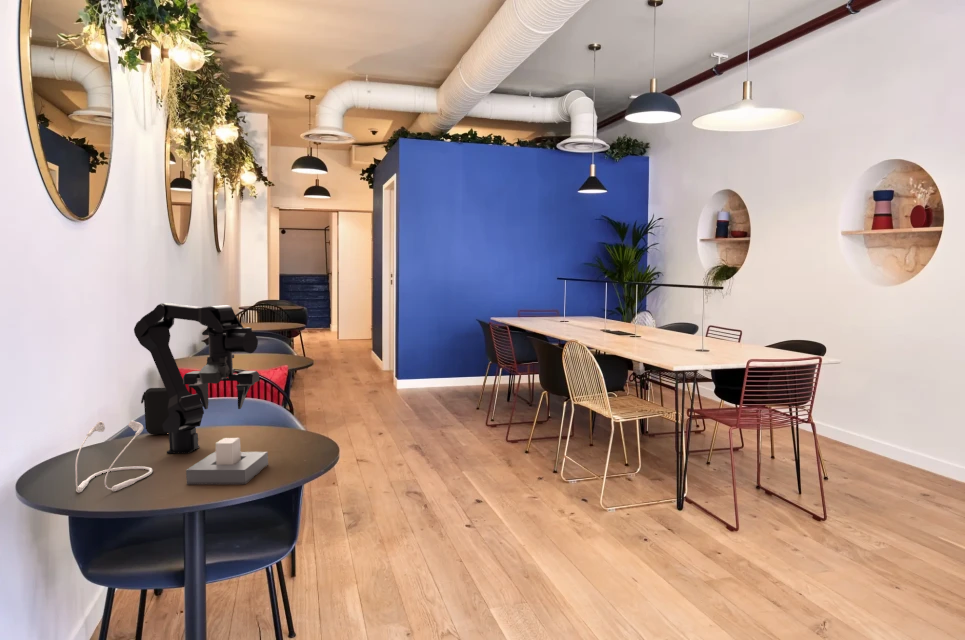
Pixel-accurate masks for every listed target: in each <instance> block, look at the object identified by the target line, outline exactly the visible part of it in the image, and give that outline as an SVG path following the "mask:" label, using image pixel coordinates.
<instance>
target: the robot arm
mask: <svg viewBox="0 0 965 640" xmlns="http://www.w3.org/2000/svg"><path fill="white" fill-rule="evenodd" d="M175 319H177V320H184V321H185V320H186V321H195V322H198V323H199V324H200V325H202V326H203V327H204V326H205V327H206V329H204V330H203V332H201V334H202V336H208V350H209V351H208V354H209V355H208V356H207V357H206V358H207V359H206V365H204V366H203V367H202V368H201V369H200V370H193V371H189V372H187V373H185V374H184V375H183V376H182V373H181V372H180V369H179V367H178V365H177V361H176V360H175V357H174V354H173V353H172V350H171V348H170V340H171V332H170V330H171V329H172V327H173V326H174V325H175ZM133 333H134V336H135V337H136V340H138V343H139V344H140V345H141V346H142V347H143V348H145V349H146V350H147V351H148V352H149V353H150V355H151V358H152V359H153V362H154V365H155V367H156V370H157V371H158V374H159V375H160V378H161V381H162V383H163V386H164V387H165V388H166V391H167V393H168V395H169V404H168V412H169V417H168V418H167V419H166V420H165V422H164V423H163V424H162V426H163V430H164V432H169V434H168V441H169V442H168V443H169V450H167V451H166V454H190V453H192V452H194V451H196V450H197V449H199V448H200V445H199V433H198V432H197V428H198V427H201V423H202V420H203V417H204V414H205V411H204V410H208V409H209V384H215V385H216V384H218V383H220V382H222V381H223V382H230V381H231V382H237V383H238V384H236V386H235V387H236V389H237V409H238V410H241V409H242V407H243V405H244V402H245V400H246V399H245V398H246V397H247V394H248V392H249V390H250V388H251V387H252V386H253V385H256V384H255V383H257V382H260V374H259V372H258V371H257V370H243V371H241V372H238V373H236V371H235V370H236V369H235V368H233V359H234V358H235V354H254V352H256V350H257V348H258V346H259V345H258V344H259V340H258V338H257V335H256V334H255V333H254V332H253V329H252V327H244V326H243V324H242V323H241V321H240V320H239V318H238V316H237V315H236V314H235V312H234V309H233V307H232V306H231V305H229V304H224V305H222V304H221V305H212V306H211V305H210V306H197V305H187V304H180V303H179V304H178V303H174V302H165V303H164V302H163V303H162V302H161V303H159V304H157V305H156V307H155V308H153V310H151V311H150V312H148V313H147V314H145V315H144V316H142V317H141V318H140V320H138V321H137V322H136V323H135V326H134V328H133ZM186 385H188V388H192V389H193V390H194V391H195V392H196V393H195V394H192V393H191V392H190V391H189V390H188V388H187V386H186ZM198 447H199V448H198ZM195 449H196V450H195ZM193 450H194V451H193Z"/></svg>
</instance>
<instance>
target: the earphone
mask: <svg viewBox="0 0 965 640" xmlns="http://www.w3.org/2000/svg"><path fill="white" fill-rule="evenodd" d="M128 427H129V428H131V429H132V430H133V431H134V433H135V434H134V436H133V438H131V440H130V441H129V442H128V443H127V445H125V447H124V448H123V449H122V450H121V451H120V453H119V454H118V455H117V456H116V458H115V459H114V461H113V462H112V463H111V465H109V468H108V469H104V470H100V471H97V472H95V473H93V474H92V475H90V476H88V477H87V478H86V479H85V480H82V482H81V483H80V484H79V485H78V461H79V456H80V452H81V451H82V448H83V446H84V444H85V443H86V441H87V439H88V438H89V437H92V435H93V434H94V432H99V433H102V432H105V430H106V427H105V423H104V422H103V421H101V420H100V421H98V422H96V424H95V426H93V427H92V428H91V429H90V430H89V431H88V433H86V437H85V438H84V440H83V442H82V443H81V445H80V447H79V449H78V452H77V455H76V457H75V466H74V467H75V468H74V469H75V487H76V489H75V491H76V493H82V492H83V491H84V489H85V488H86V487H87V486H88V485H89V482H90V481H91V480H92V479H94V478H95V476H96V477H98V476H100V475H102V473H103V474H105V477H104V486H105V488H106V489H107V490H111V491H112V492H116V491H120V490H121V489H122V490H123V489H124V488H126V487H129V486H131V485H133V484H135V483H136V482H138V481H140V480H143V479H144V478H145V479H146V478H147V477H148V476H151V474H152V473H154V472H153V471H154V470H153V468H152V467H150V466H142V465H141V466H140V465H139V466H138V465H137V466H134V465H133V466H122V467H121V466H119V467H113V466H114V464H115V463H116V462H117V460H118V459H119V458H120V457H121V455H122V454H123V453H124V451H125V450H126V449H127V448H128V447H129V445H130V444H132V442H133V441H135V439H136V438H137V436H139V435H140V434H141V433H142V432H143V431H144V425H143V424H142V423H140V422H138V421H135V420H130V421H129V423H128ZM112 467H113V468H112ZM144 469H145V470H146V471H147V472H146V473H145V474H142V475H141V476H137V477H136V478H130V479H127V480H125V481H123V482H120V483H118V484H115V485H113V486H112V487H111V488H110V487H108V485H107V478H108V475H109V473H111V472H116V471H125V470H144ZM110 471H111V472H110ZM106 472H107V473H106Z"/></svg>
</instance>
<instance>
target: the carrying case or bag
mask: <svg viewBox="0 0 965 640" xmlns="http://www.w3.org/2000/svg"><path fill="white" fill-rule="evenodd" d="M140 403H141V404H143V405H144V424H145V427H144V428H145V430H146V433H148V434H149V435H151V434H167V433H169V432H164V430H163V426H162V424H163V423H164V422H165V420H166V419H167V418H168V417H169V412H168V404H169V395H168V393H167V391H166V388H165V386H164V387H149V388H147V389H146V390H145V391H144V392H143V394H142V396H141V400H140ZM167 435H168V434H167Z"/></svg>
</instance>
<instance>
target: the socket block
mask: <svg viewBox="0 0 965 640" xmlns="http://www.w3.org/2000/svg"><path fill="white" fill-rule="evenodd" d="M267 465H268V466H269V452H268V451H241V461H239V462H238V463H237V464H235V465H216V451H214V452H212V453H210V454H208V455H207V456H205V457H204V458H202V459H200V460H199V461H198V462H196V463H195V464H192V465H191V466H190V467H189V468H187V469H186V470H185V475H186V478H185V479H186V485H246V484H248V483H249V482H250V481H251V480H252V479H254V478H255V477H256V476H257V475H258V474H260V471H261V470H262V469H263V468H264V467H265V466H266V467H268V466H267ZM266 467H265V468H266ZM265 468H264V469H265ZM264 469H263V470H264ZM263 470H262V471H263ZM262 471H261V472H262ZM255 475H256V476H255ZM254 476H255V477H254Z"/></svg>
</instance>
